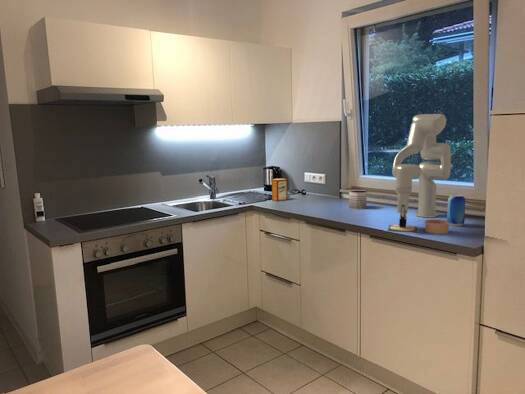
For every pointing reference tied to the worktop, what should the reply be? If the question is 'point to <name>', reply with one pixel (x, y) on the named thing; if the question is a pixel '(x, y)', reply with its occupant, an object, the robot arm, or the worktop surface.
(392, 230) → the mat
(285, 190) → the baking soda box
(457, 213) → the beer can
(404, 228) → the lid
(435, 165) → the robot arm
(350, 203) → the ribbed plant pot
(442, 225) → the bowl
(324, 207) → the worktop surface
